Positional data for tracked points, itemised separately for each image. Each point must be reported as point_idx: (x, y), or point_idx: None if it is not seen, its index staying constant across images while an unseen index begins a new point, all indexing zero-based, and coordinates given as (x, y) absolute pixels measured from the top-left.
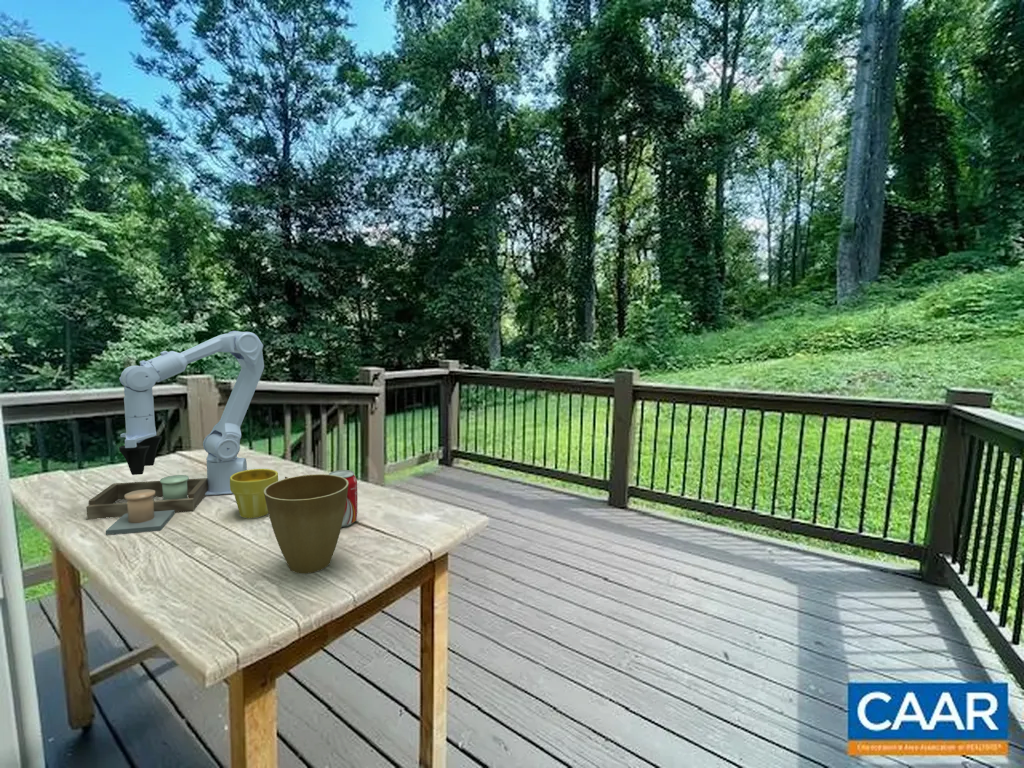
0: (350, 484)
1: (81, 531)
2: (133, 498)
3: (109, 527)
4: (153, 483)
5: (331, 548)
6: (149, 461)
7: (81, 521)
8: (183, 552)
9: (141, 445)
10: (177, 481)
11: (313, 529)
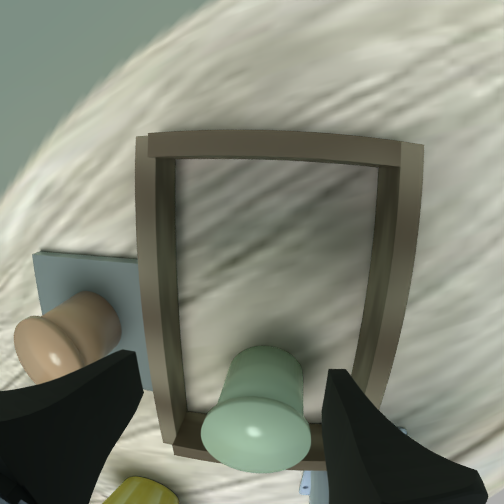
0: None
1: (67, 175)
2: (16, 346)
3: (46, 256)
4: (378, 323)
5: None
6: (324, 418)
7: (145, 130)
8: (2, 387)
9: (353, 489)
10: (209, 450)
11: None
